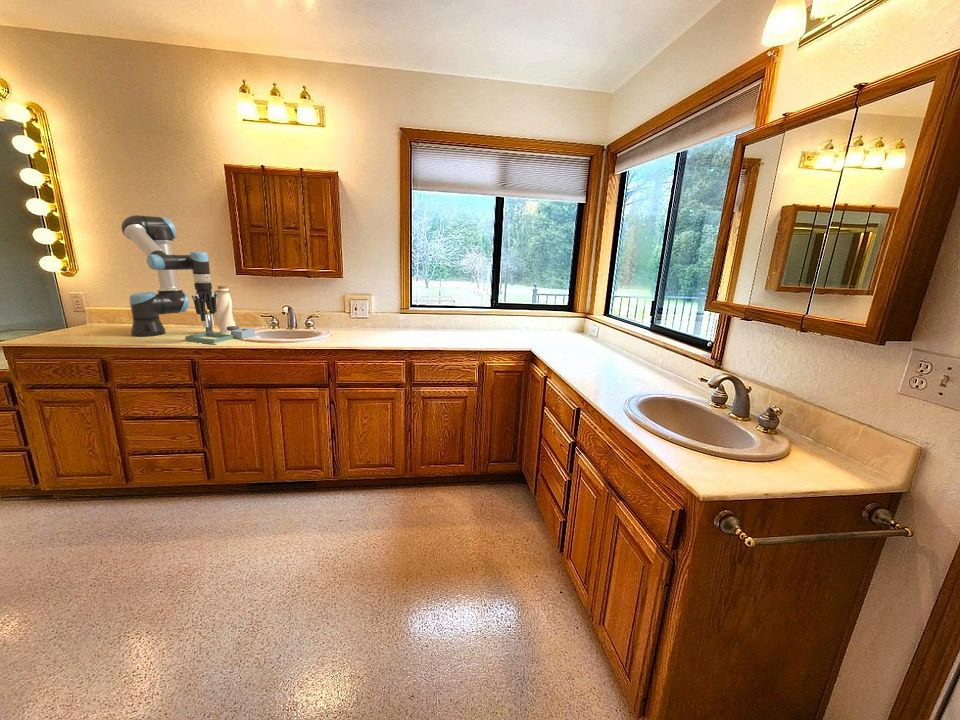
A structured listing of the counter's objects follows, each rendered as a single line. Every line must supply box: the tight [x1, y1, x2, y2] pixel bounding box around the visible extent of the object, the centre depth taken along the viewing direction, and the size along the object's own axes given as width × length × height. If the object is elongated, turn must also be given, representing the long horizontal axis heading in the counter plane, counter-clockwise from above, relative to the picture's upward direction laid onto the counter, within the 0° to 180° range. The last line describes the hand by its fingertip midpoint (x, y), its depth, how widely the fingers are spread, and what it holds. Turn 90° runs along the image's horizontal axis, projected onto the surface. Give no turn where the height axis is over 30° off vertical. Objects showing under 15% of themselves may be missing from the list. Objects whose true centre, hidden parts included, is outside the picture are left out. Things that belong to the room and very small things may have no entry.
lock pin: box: [204, 308, 214, 338], centre depth 219 cm, size 3×3×14 cm
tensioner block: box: [227, 325, 256, 340], centre depth 231 cm, size 14×10×6 cm
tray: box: [184, 331, 235, 346], centre depth 221 cm, size 18×13×3 cm
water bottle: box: [213, 285, 237, 335], centre depth 236 cm, size 10×9×28 cm
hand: (208, 326), depth 219 cm, fingers closed on lock pin, 3 cm apart
